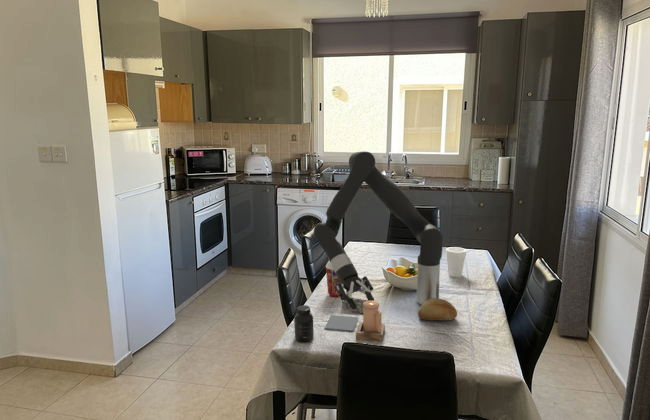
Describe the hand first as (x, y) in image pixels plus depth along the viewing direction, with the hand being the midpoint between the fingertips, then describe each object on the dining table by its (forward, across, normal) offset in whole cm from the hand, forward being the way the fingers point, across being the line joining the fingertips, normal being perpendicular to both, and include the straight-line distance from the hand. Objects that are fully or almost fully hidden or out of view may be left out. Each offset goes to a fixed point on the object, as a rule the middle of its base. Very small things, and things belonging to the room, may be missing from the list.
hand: (363, 305), depth 175 cm
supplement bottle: (+1, -21, +13) cm, 25 cm away
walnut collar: (+10, 0, +4) cm, 11 cm away
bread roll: (+14, +29, 0) cm, 33 cm away
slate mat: (0, -2, +14) cm, 14 cm away
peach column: (+10, 0, +4) cm, 11 cm away
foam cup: (-5, +76, +20) cm, 79 cm away
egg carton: (-5, +12, +20) cm, 24 cm away
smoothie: (-17, +14, +31) cm, 38 cm away
